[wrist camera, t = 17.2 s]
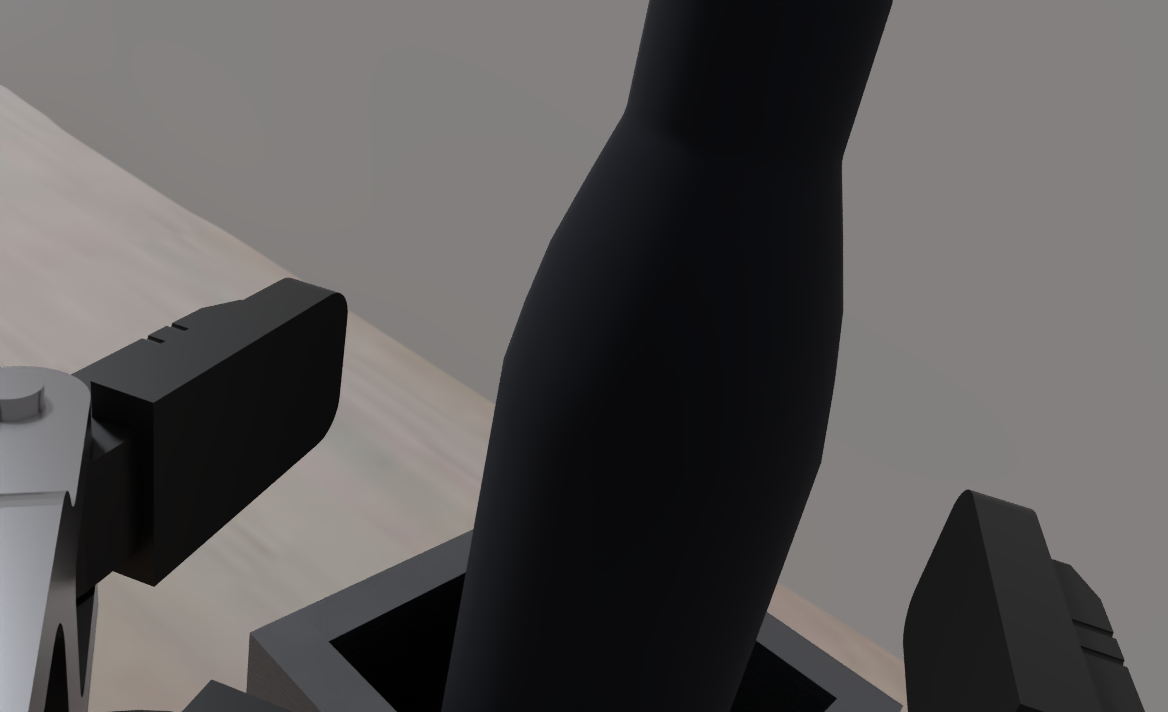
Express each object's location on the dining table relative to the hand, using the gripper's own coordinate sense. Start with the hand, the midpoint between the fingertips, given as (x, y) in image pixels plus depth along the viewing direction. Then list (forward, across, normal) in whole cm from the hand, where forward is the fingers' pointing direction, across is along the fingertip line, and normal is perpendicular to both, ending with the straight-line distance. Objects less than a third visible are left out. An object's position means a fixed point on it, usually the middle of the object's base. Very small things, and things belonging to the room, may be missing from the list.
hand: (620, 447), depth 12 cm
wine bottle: (+6, 0, +17) cm, 18 cm away
